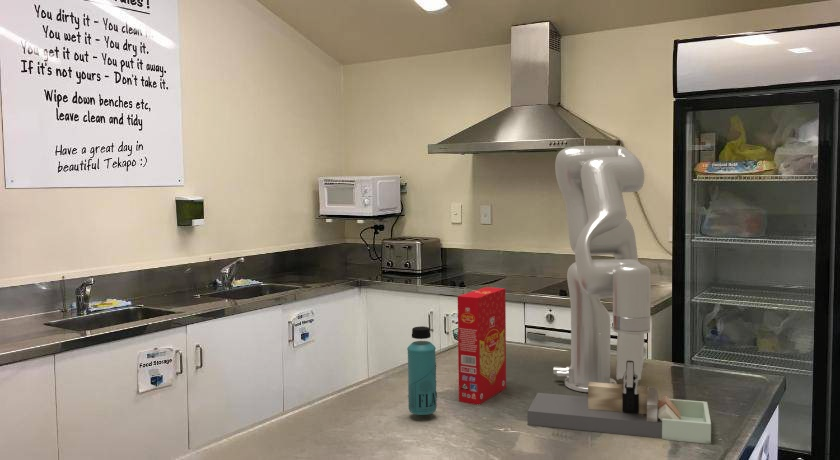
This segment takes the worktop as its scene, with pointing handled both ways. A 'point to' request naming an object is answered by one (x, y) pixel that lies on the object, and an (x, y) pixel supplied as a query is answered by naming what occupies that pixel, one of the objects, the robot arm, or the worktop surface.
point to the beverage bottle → (421, 373)
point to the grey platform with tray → (621, 419)
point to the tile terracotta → (669, 405)
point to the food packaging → (481, 344)
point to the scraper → (612, 398)
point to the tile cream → (666, 413)
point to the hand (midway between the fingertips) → (630, 408)
